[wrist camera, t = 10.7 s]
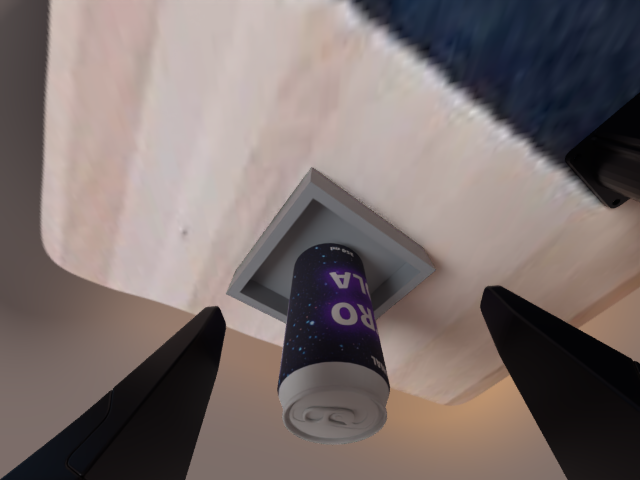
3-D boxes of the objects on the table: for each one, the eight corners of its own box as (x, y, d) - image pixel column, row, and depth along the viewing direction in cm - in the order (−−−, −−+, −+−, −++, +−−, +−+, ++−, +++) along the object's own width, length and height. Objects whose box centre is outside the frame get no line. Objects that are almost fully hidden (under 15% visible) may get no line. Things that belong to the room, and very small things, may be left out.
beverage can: (356, 294, 25) (380, 451, 15) (292, 288, 25) (272, 445, 14) (368, 240, 22) (410, 389, 12) (296, 233, 22) (275, 380, 11)
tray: (423, 248, 24) (436, 269, 21) (337, 324, 28) (339, 350, 26) (311, 167, 20) (310, 181, 17) (235, 270, 25) (225, 293, 22)
